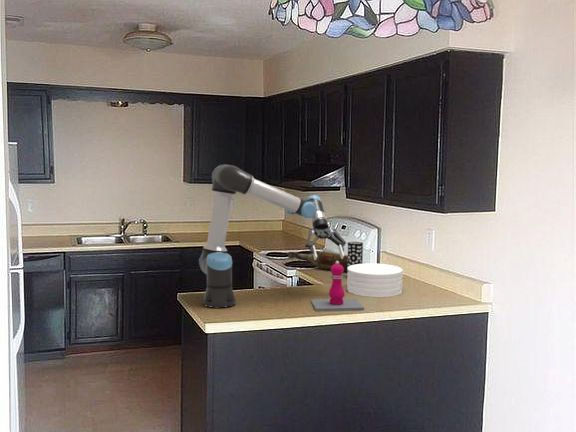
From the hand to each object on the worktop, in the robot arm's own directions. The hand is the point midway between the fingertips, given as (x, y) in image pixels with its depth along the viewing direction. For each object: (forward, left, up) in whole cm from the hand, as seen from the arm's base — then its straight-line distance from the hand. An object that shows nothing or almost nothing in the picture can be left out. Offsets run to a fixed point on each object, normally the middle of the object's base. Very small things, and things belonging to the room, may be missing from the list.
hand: (329, 257), depth 290 cm
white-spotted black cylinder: (+23, +46, -21) cm, 56 cm away
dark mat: (+2, -11, -21) cm, 23 cm away
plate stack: (+27, +18, -21) cm, 39 cm away
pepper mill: (+2, -10, -20) cm, 22 cm away
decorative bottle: (+8, +75, -21) cm, 78 cm away
